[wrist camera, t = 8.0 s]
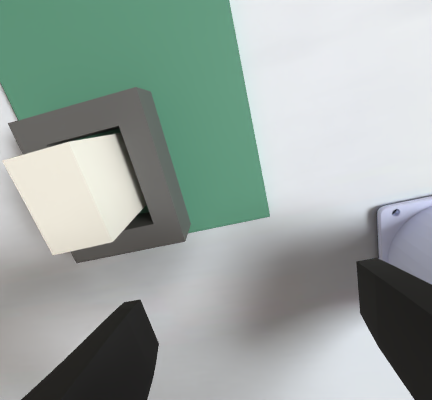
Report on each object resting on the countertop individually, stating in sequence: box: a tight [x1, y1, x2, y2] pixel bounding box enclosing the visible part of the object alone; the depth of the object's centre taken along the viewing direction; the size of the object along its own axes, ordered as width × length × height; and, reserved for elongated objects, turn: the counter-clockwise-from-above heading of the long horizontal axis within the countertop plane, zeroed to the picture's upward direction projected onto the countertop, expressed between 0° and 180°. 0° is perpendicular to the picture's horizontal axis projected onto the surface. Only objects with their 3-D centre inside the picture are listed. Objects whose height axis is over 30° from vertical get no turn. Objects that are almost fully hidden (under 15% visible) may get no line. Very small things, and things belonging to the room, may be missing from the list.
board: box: [0, 0, 270, 263], centre depth 14 cm, size 14×16×3 cm
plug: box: [2, 133, 147, 255], centre depth 13 cm, size 3×4×6 cm, turn 15°
